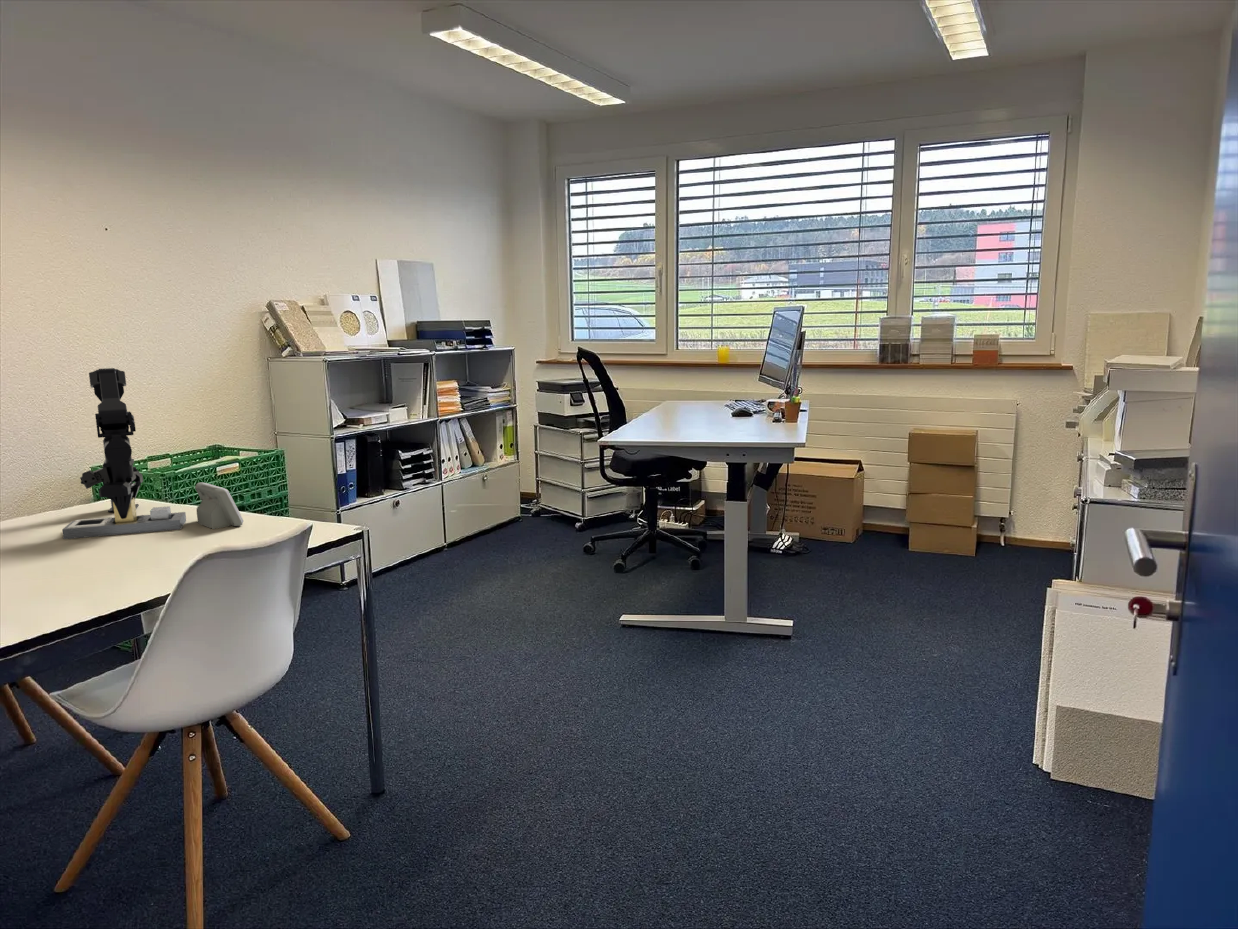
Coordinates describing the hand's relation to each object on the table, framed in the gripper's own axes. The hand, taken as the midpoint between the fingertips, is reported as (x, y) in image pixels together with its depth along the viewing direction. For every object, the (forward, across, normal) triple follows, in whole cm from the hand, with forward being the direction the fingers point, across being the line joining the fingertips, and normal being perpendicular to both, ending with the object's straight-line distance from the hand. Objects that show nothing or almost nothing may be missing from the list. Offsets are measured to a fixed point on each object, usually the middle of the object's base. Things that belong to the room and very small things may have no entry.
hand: (125, 516), depth 208 cm
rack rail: (+4, 0, 0) cm, 4 cm away
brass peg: (+4, 0, 0) cm, 4 cm away
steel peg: (+4, 0, +8) cm, 9 cm away
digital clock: (+4, +2, +22) cm, 23 cm away
